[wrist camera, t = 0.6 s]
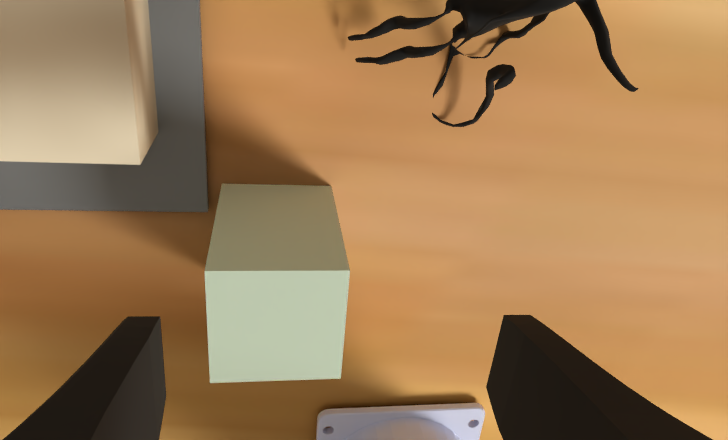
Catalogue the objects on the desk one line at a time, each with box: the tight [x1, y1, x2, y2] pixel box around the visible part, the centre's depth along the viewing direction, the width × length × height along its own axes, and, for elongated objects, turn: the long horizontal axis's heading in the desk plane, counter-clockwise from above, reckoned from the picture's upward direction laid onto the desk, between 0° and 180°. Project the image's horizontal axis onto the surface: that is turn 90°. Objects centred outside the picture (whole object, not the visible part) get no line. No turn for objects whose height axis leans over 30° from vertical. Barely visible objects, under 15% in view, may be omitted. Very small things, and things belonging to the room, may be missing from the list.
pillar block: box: [205, 184, 350, 383], centre depth 19 cm, size 4×4×6 cm
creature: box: [348, 0, 638, 127], centre depth 17 cm, size 8×5×8 cm
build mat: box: [0, 0, 209, 212], centre depth 18 cm, size 12×9×1 cm
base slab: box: [0, 0, 159, 165], centre depth 16 cm, size 6×6×3 cm
